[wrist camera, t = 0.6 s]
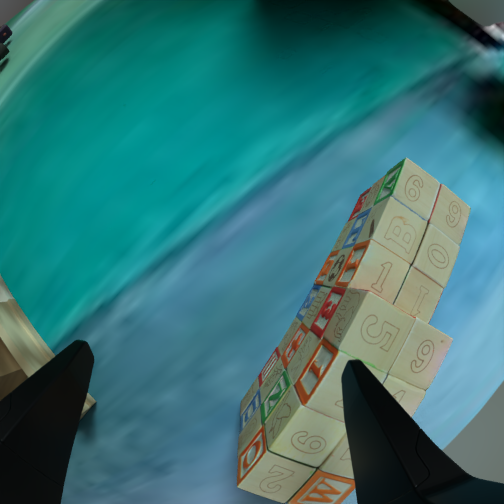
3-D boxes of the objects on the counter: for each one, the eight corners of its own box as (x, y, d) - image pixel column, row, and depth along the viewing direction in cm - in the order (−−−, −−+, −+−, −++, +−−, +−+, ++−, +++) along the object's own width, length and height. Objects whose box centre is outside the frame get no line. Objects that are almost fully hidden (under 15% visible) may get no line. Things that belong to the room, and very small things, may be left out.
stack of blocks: (358, 192, 25) (431, 135, 13) (411, 228, 25) (502, 198, 13) (239, 403, 24) (233, 490, 12) (299, 430, 24) (330, 517, 11)
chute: (96, 401, 23) (76, 416, 19) (58, 445, 23) (40, 460, 19) (-15, 248, 24) (-37, 244, 20) (-40, 304, 24) (-60, 306, 20)
